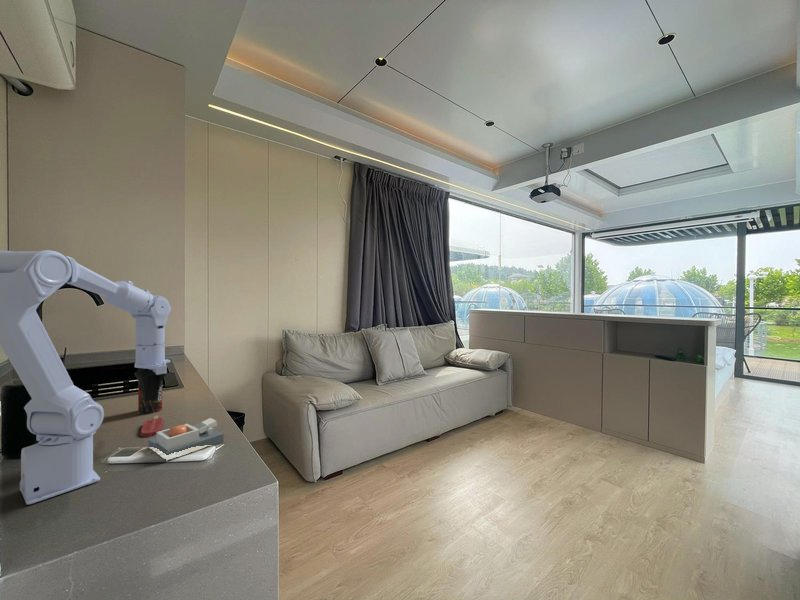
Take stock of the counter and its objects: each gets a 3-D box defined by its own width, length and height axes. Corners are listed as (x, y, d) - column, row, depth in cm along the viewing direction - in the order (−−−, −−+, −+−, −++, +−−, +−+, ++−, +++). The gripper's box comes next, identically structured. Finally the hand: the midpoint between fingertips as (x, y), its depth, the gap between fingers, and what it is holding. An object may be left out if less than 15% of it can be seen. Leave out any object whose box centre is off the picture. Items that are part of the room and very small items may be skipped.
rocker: (201, 433, 79) (199, 428, 79) (194, 430, 81) (193, 425, 81) (217, 425, 82) (216, 420, 82) (211, 422, 84) (209, 417, 84)
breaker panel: (166, 461, 71) (166, 441, 71) (148, 447, 78) (148, 428, 77) (223, 442, 81) (223, 423, 81) (202, 431, 87) (202, 414, 87)
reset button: (172, 444, 74) (172, 431, 74) (167, 441, 76) (167, 428, 76) (188, 439, 77) (188, 427, 77) (182, 436, 79) (182, 423, 79)
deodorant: (159, 412, 101) (158, 363, 101) (135, 415, 99) (135, 365, 98) (164, 406, 106) (164, 360, 106) (142, 408, 104) (142, 361, 104)
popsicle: (165, 411, 98) (160, 430, 85) (165, 417, 98) (160, 436, 85) (146, 414, 95) (138, 433, 83) (146, 420, 95) (138, 440, 83)
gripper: (181, 345, 80) (181, 400, 80) (158, 340, 88) (158, 390, 88) (146, 348, 74) (146, 408, 74) (125, 343, 82) (125, 397, 82)
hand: (150, 399), depth 81 cm, fingers closed
